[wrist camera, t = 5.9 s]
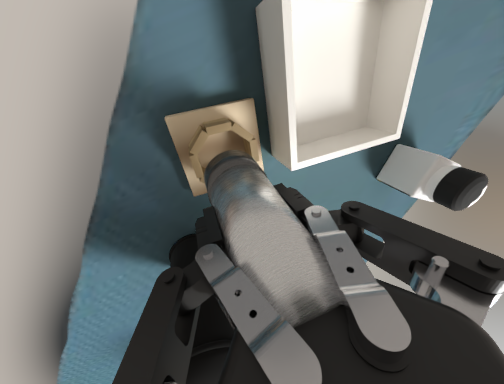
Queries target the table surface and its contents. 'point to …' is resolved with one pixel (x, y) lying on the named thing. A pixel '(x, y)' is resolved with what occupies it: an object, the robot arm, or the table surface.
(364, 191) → the table surface
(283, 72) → the bin
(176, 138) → the socket base
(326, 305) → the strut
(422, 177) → the medicine bottle
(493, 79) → the table surface
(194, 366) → the aerosol can
